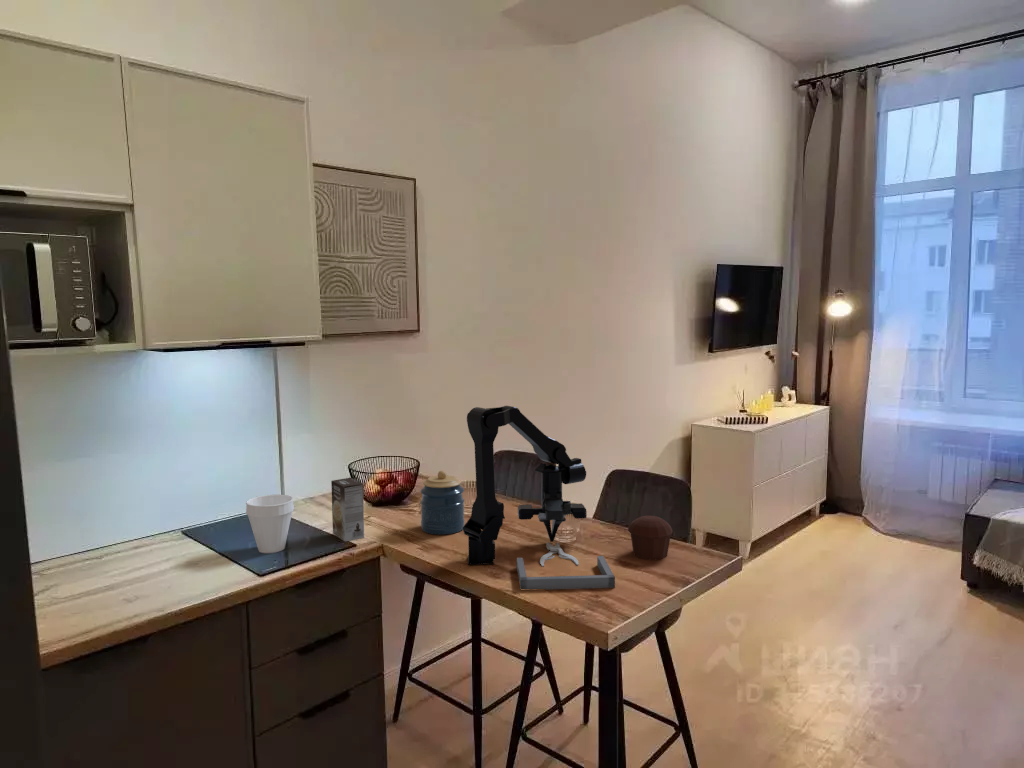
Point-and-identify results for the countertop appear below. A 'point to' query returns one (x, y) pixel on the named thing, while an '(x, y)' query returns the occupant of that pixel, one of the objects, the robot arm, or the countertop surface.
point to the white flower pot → (270, 521)
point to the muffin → (650, 537)
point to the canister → (442, 505)
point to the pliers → (556, 550)
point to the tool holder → (568, 579)
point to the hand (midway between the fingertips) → (551, 541)
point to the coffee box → (347, 509)
